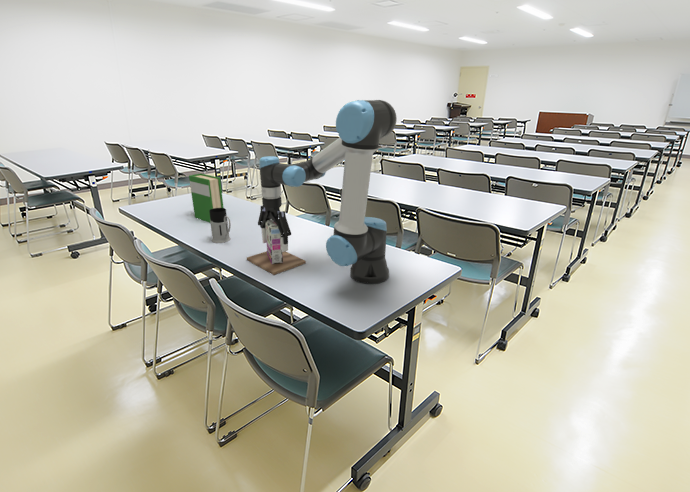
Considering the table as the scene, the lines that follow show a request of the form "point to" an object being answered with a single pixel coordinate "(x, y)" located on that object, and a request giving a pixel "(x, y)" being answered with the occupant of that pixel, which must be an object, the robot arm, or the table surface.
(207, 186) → the hardback book
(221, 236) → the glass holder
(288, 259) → the walnut board
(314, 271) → the table surface
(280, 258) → the candy bar box
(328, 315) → the table surface
